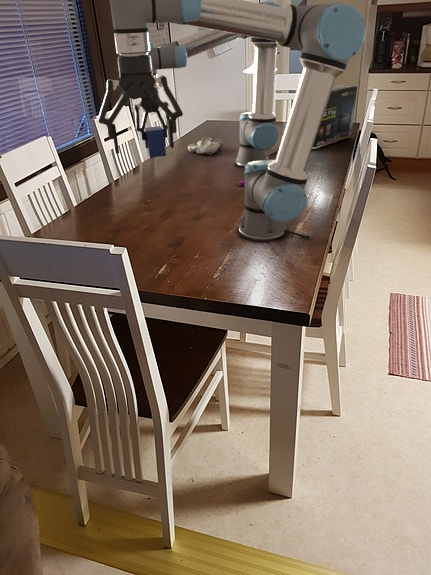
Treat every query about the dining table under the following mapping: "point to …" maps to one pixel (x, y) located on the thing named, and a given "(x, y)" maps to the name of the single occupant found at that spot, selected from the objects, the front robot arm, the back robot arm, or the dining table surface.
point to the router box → (337, 115)
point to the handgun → (242, 183)
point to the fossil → (206, 146)
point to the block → (155, 141)
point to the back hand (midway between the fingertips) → (155, 146)
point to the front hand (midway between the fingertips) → (144, 149)
